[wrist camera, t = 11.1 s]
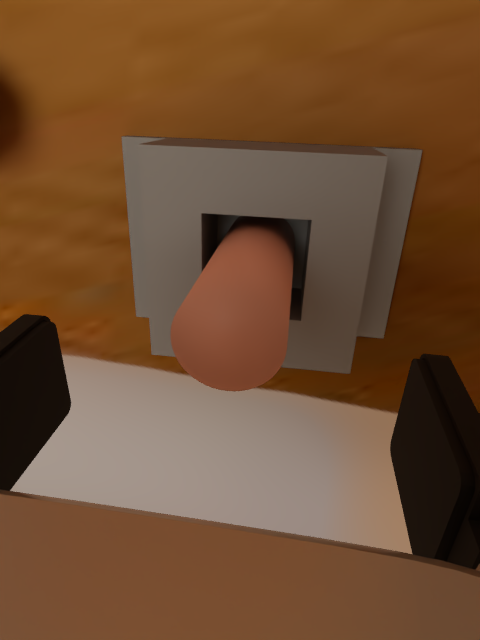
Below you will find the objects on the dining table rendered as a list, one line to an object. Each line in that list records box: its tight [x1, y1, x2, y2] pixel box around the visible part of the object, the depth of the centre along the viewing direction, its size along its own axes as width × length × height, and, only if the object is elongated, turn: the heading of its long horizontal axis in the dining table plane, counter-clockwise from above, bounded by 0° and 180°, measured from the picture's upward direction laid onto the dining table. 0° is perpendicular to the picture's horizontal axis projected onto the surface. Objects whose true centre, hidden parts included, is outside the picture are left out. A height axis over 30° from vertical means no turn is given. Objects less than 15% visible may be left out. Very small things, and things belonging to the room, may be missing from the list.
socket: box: [122, 136, 422, 374], centre depth 24 cm, size 16×11×5 cm
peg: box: [170, 216, 295, 391], centre depth 20 cm, size 4×4×12 cm
